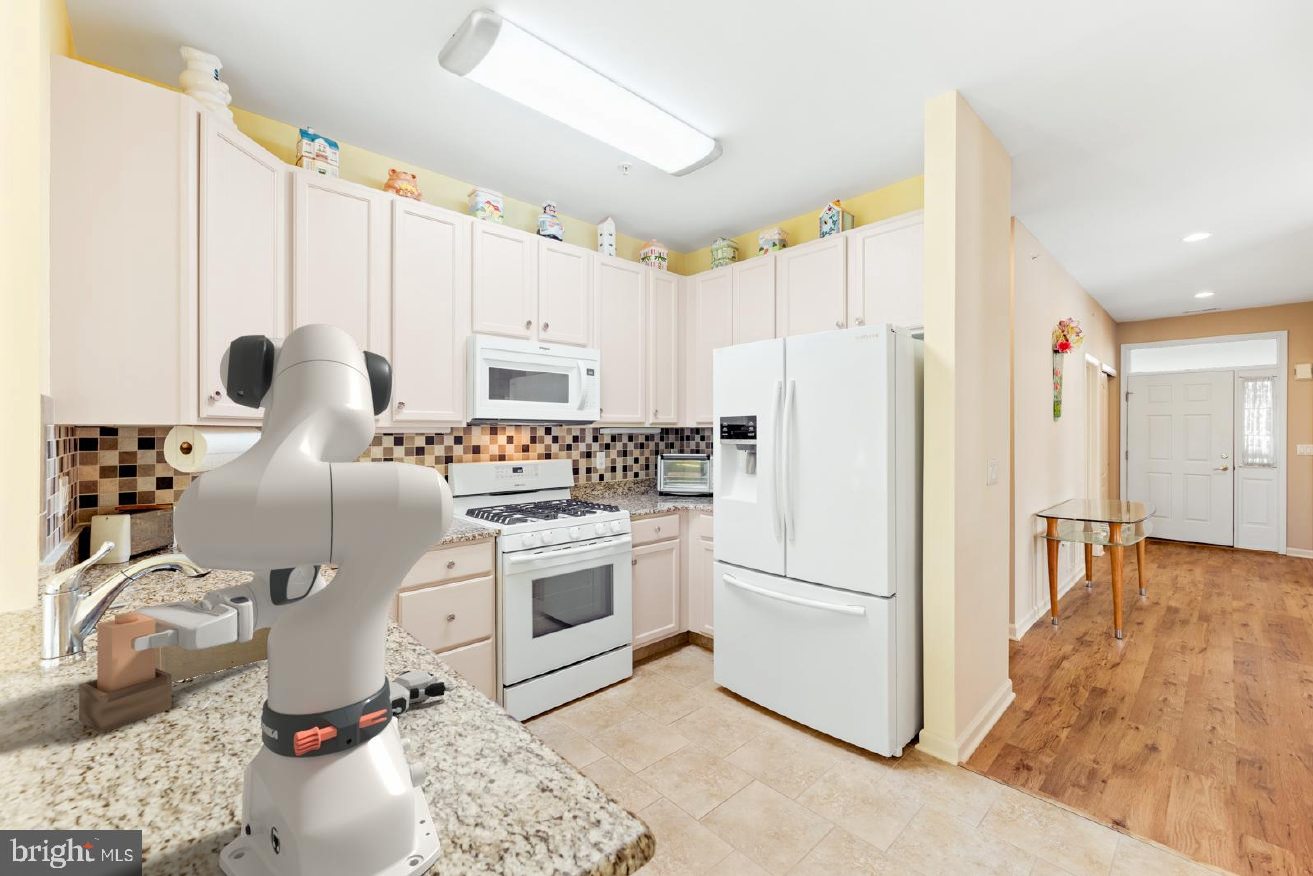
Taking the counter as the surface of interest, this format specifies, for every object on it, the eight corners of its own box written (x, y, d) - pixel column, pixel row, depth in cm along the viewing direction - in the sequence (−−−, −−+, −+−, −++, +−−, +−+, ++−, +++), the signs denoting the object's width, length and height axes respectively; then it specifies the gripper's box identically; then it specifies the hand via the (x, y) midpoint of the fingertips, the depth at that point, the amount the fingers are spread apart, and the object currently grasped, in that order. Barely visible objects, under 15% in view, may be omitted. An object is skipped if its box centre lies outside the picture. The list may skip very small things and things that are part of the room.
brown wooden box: (171, 708, 86) (171, 674, 86) (102, 732, 79) (102, 695, 79) (147, 697, 90) (147, 665, 90) (78, 719, 83) (78, 684, 83)
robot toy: (411, 687, 96) (321, 718, 83) (413, 660, 96) (323, 687, 83) (459, 705, 89) (369, 741, 76) (461, 676, 89) (372, 707, 77)
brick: (155, 684, 85) (155, 612, 85) (111, 697, 81) (112, 621, 81) (140, 677, 88) (140, 607, 88) (97, 690, 83) (97, 616, 83)
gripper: (194, 588, 101) (89, 609, 88) (257, 603, 91) (150, 629, 79) (194, 623, 101) (89, 649, 88) (257, 642, 91) (149, 673, 79)
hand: (118, 639), depth 84 cm, fingers open, 8 cm apart
